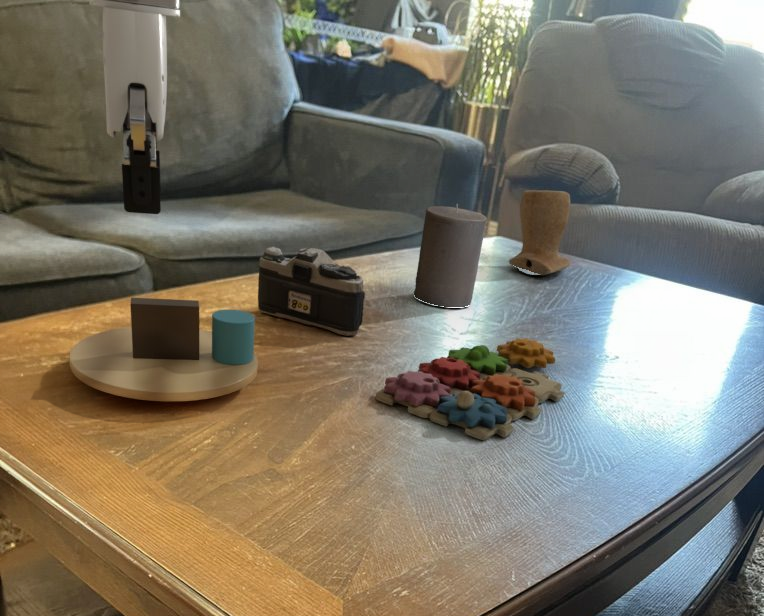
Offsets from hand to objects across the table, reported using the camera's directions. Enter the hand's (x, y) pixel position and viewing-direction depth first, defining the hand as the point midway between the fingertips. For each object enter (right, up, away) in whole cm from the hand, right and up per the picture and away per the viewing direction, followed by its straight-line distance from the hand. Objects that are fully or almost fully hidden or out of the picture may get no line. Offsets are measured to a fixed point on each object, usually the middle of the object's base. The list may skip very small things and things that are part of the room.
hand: (143, 201), depth 75 cm
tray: (-1, -14, +11) cm, 17 cm away
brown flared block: (+53, +18, +79) cm, 97 cm away
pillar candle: (+33, +4, +52) cm, 62 cm away
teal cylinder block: (+6, -13, +12) cm, 19 cm away
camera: (+14, -3, +36) cm, 39 cm away
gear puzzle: (+37, -15, +21) cm, 45 cm away
